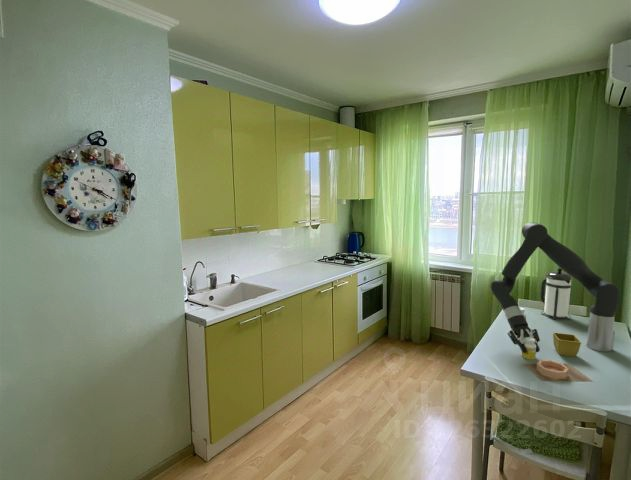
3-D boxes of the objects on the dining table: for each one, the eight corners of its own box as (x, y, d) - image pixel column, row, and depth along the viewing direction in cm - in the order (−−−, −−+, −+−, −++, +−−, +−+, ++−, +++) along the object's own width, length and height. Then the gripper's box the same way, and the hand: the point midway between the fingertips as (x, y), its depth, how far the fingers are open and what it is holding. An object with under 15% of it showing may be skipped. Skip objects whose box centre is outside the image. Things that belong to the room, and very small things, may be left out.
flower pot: (572, 352, 166) (574, 334, 164) (579, 361, 157) (581, 342, 156) (551, 349, 168) (552, 332, 167) (557, 358, 160) (558, 339, 159)
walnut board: (569, 366, 153) (569, 363, 153) (592, 384, 139) (593, 381, 139) (522, 366, 154) (522, 363, 154) (541, 383, 140) (541, 380, 140)
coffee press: (572, 315, 212) (577, 267, 208) (568, 323, 200) (573, 272, 196) (539, 309, 224) (543, 263, 219) (533, 315, 212) (537, 268, 208)
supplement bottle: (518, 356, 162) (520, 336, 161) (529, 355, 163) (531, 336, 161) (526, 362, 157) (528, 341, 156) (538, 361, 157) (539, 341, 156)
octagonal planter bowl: (556, 366, 151) (557, 359, 150) (573, 379, 140) (574, 372, 140) (532, 366, 151) (532, 359, 151) (546, 379, 141) (547, 372, 140)
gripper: (505, 315, 164) (521, 350, 154) (533, 313, 165) (551, 348, 155) (497, 321, 170) (512, 356, 160) (524, 319, 171) (541, 353, 161)
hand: (531, 352), depth 158 cm, fingers closed on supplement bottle, 5 cm apart
